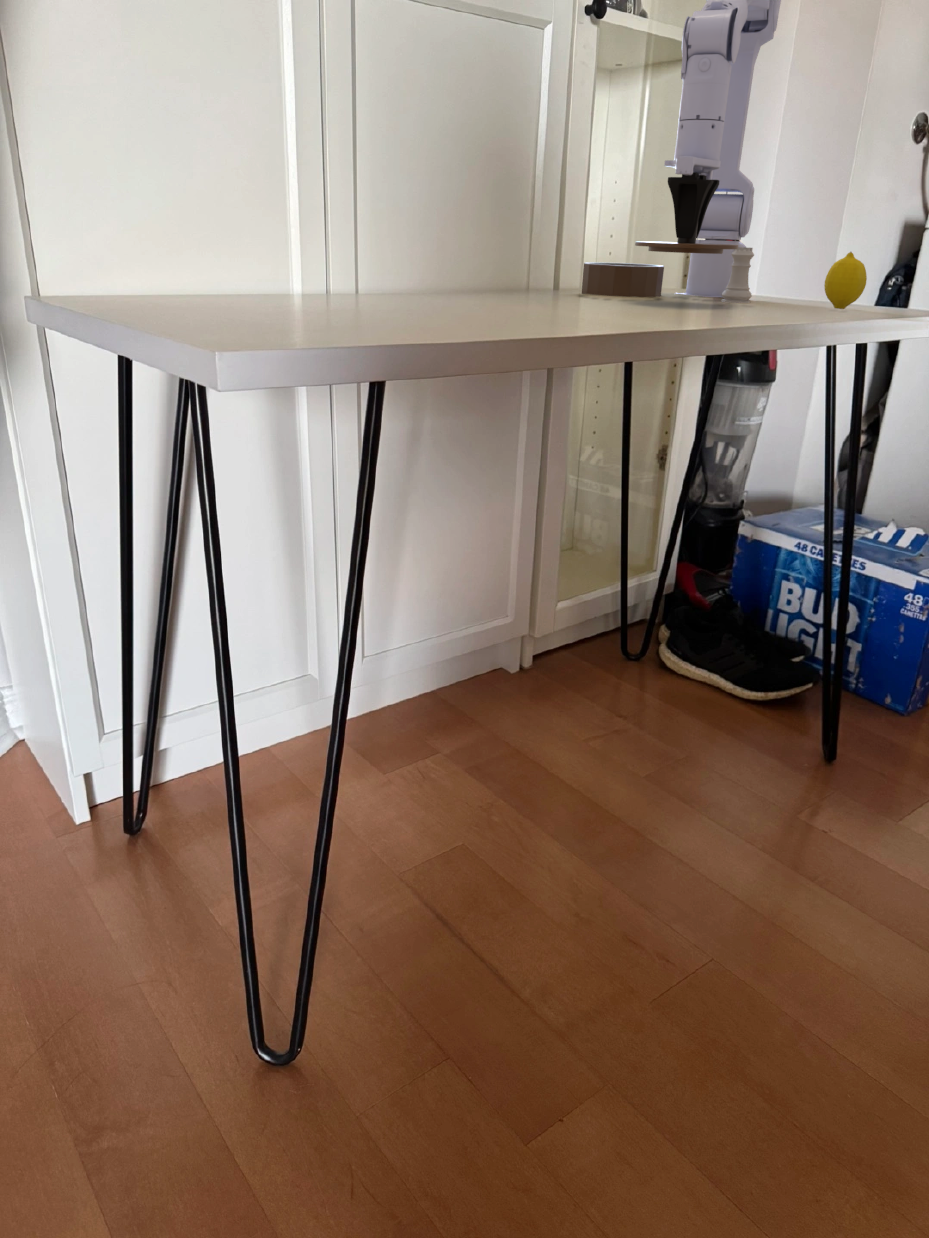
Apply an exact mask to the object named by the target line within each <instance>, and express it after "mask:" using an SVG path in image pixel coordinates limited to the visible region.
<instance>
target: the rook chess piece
mask: <svg viewBox="0 0 929 1238" xmlns="http://www.w3.org/2000/svg"><path fill="white" fill-rule="evenodd" d="M746 247H747V246H746ZM746 247H744V248H743V247H738V249H734V251H733V253H732V254H731V255H732V257H733V264H732V265H731V266H732V273H731V276H730V280H729V283H728V285H727V287H726V290H725V291H724V292H723V293H722V297H721V298H722V299H721V300H720V302H725V303H733V304H734V303H736V304H737V303H738V304H750V303H751V304H752V302H751V301H750V299H751V298H752V297H753V295H752V293H751V291H750V287H749V286H750V285H749V272H750V268H751V266H752V265H751V260H752V259H753V257H754V256H755V253H754V252H753V249H754V248H753V247H747V248H746Z"/></svg>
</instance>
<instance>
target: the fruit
mask: <svg viewBox="0 0 929 1238" xmlns="http://www.w3.org/2000/svg"><path fill="white" fill-rule="evenodd" d="M866 269H867V268H866V266H865V264H864V263H863V262H862V261H861V260H859V259H858V258H856V257H855V254H854V253H853V252H852V251H849V252H848V253H847V254H846V255H845V256H844V257H843V258H840V259H838V260H837V261H835V262H834V263H833V264H832V265H831V267H830V268H829V270H828V271H827V274H826V276H825V280H824V284H823V285H824V287H823V288H824V293H825V296H826V298H827V299H828V301H829V302H830V303H831V304H832V305H833V308H834V309H839V310H845V309H846V308H847V307H849V306H850V305H851V304H853V303H855V302H856V301H857V300H858V299H859V298H860V297H861V296H862V294H863V293H864V290H865V288H866V286H867V279H868V277H867V270H866Z"/></svg>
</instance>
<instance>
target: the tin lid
mask: <svg viewBox="0 0 929 1238" xmlns="http://www.w3.org/2000/svg"><path fill="white" fill-rule="evenodd" d="M697 228H698V224H697ZM697 228H696V231H695V234H694V237H693V238H677V241H676V242H674V241H639V240H638V241H635V242H634V246H636V247H647V248H648V252H657V253H658V252H659V253H679V254H691V253H705V254H722V253H723V249H738V245H729V244H706V243H696V240H697V238H696V236H697Z"/></svg>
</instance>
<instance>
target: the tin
mask: <svg viewBox="0 0 929 1238" xmlns="http://www.w3.org/2000/svg"><path fill="white" fill-rule="evenodd" d="M664 271H665V266H664V265H661V264H650V263H649V264H648V263H647V264H646V263H630V262H629V263H628V262H627V263H626V262H595V261H594V262H593V261H592V262H591V261H590V262H583V269H582V282H581V295H596V296H610V297H631V298H634V297H635V298H656V297H661V295H662V290H663V282H664V281H663V280H664Z"/></svg>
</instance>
